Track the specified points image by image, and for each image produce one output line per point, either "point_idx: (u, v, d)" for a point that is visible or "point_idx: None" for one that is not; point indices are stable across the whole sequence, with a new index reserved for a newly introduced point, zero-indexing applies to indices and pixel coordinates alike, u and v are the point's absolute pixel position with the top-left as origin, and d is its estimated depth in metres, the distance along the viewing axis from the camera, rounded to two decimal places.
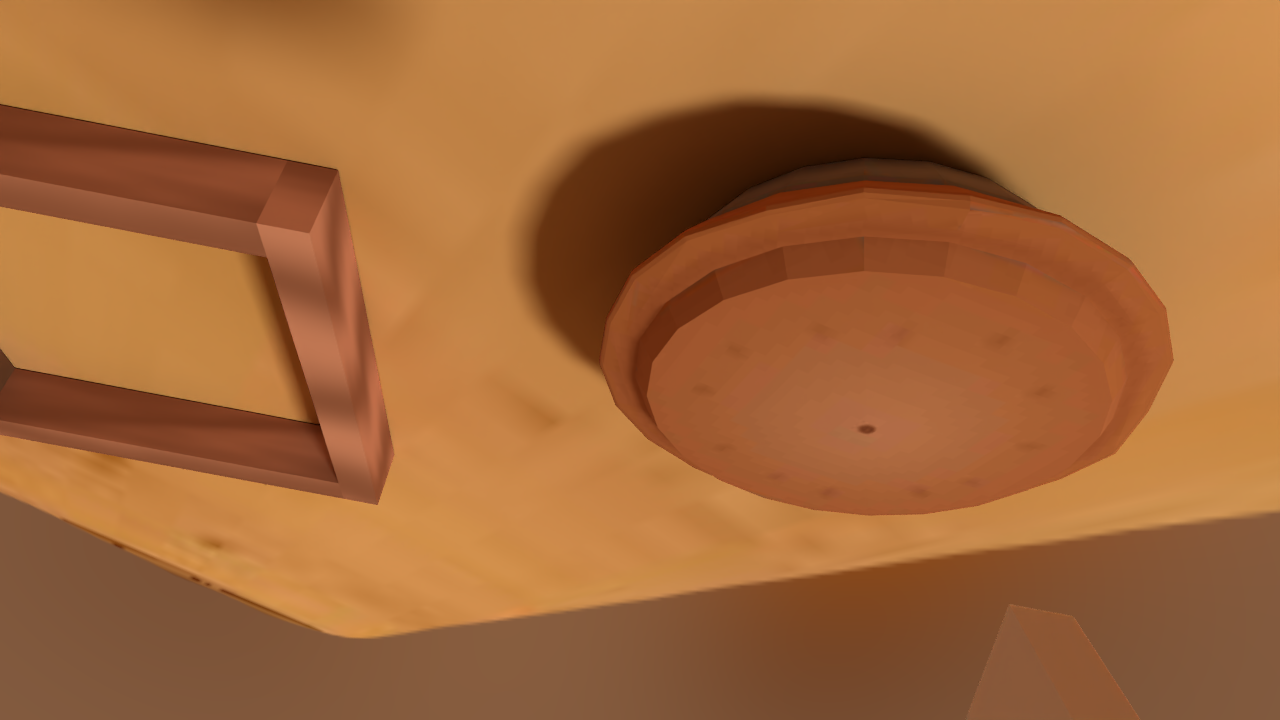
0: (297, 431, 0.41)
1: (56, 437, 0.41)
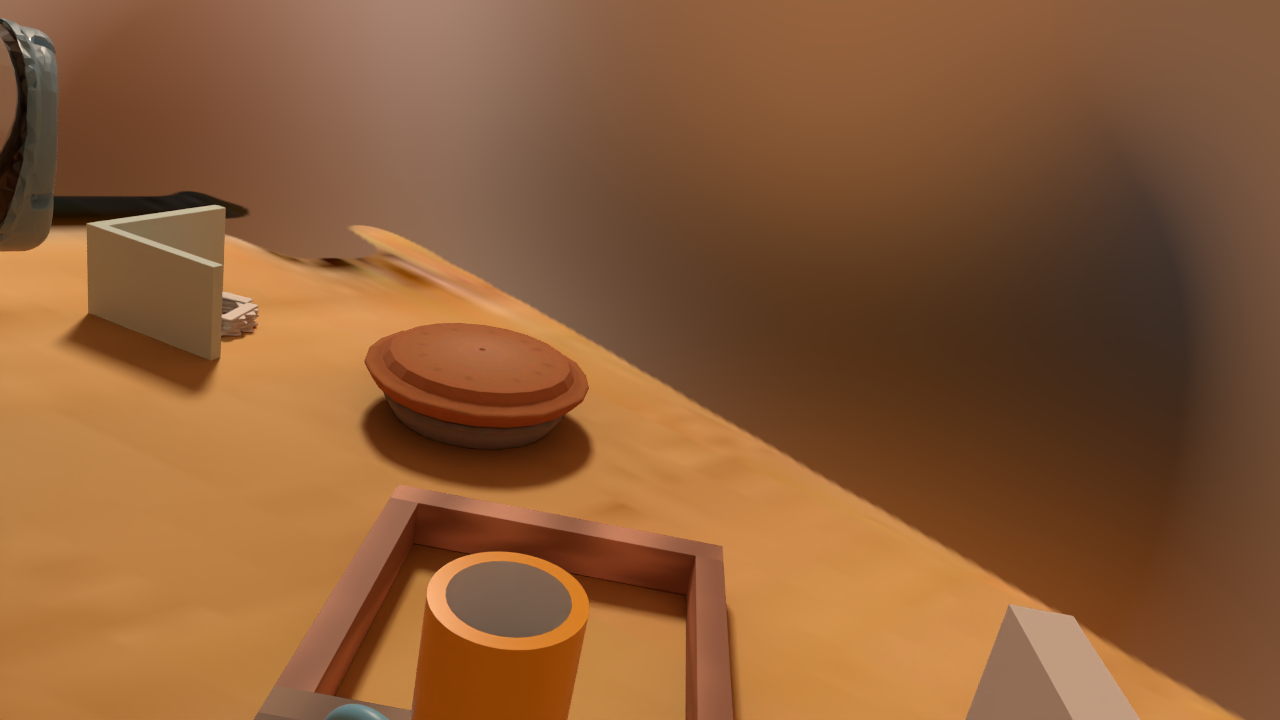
0: (688, 614, 0.49)
1: (713, 717, 0.39)
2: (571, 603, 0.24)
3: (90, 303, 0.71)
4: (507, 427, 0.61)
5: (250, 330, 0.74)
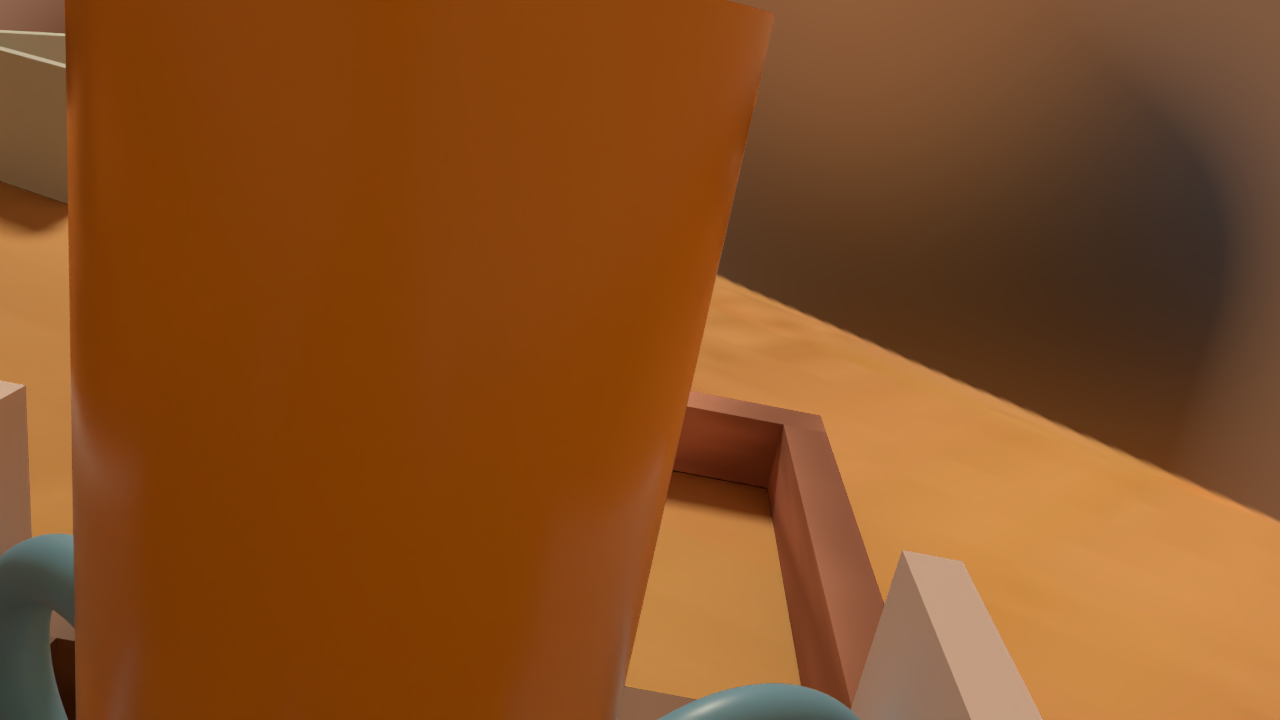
0: (776, 510, 0.31)
1: (865, 648, 0.21)
2: None
3: None
4: None
5: None
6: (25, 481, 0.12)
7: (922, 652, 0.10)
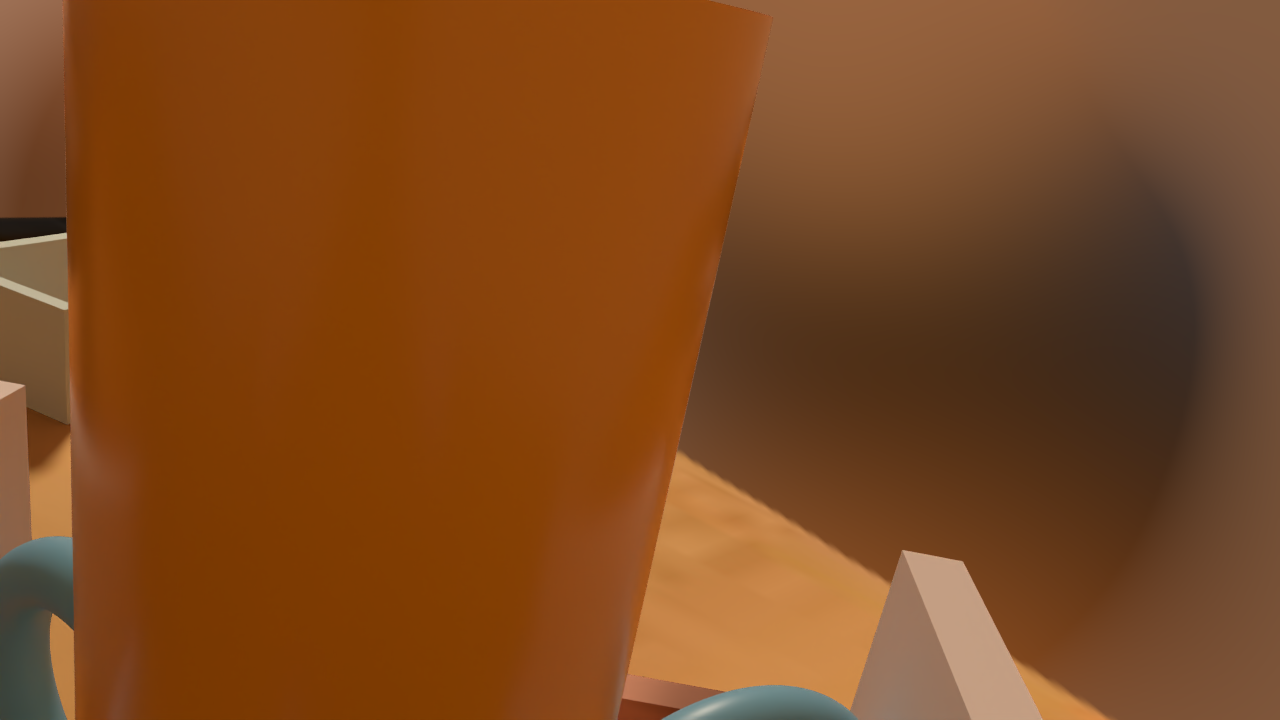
0: None
1: None
2: None
3: None
4: None
5: None
6: (24, 481, 0.12)
7: (922, 652, 0.10)
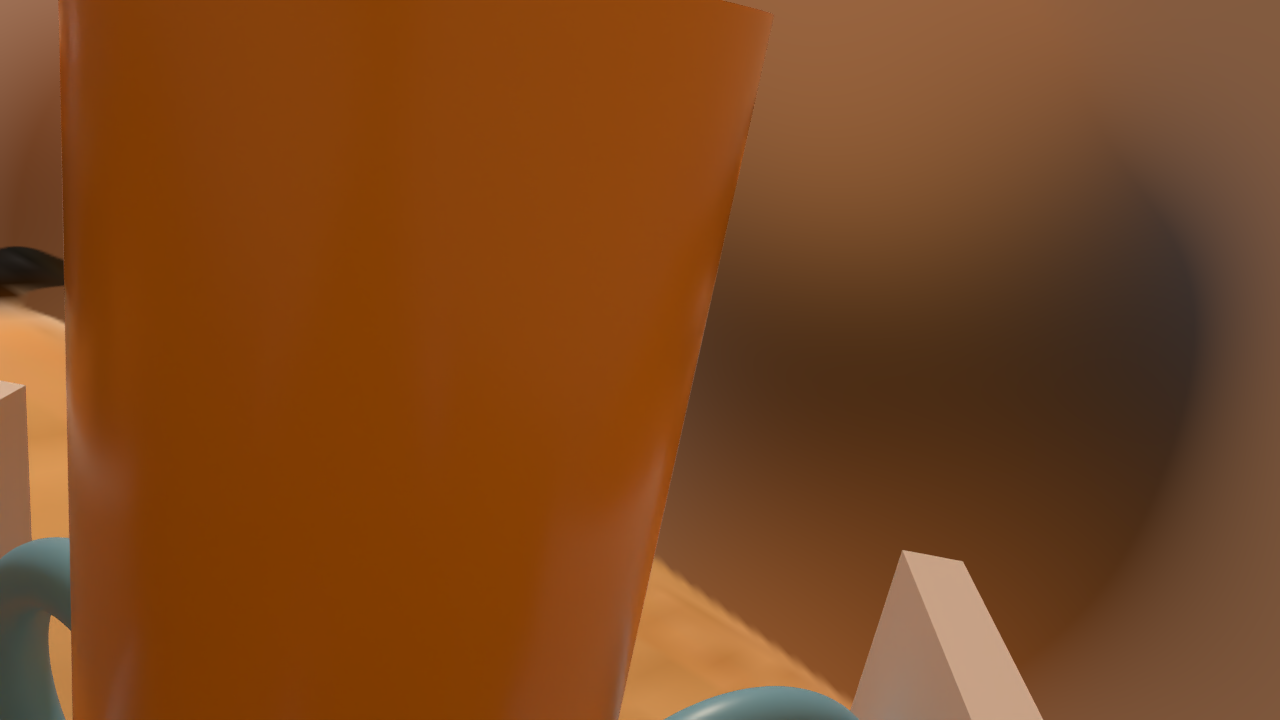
0: None
1: None
2: None
3: None
4: None
5: None
6: (24, 481, 0.12)
7: (922, 652, 0.10)
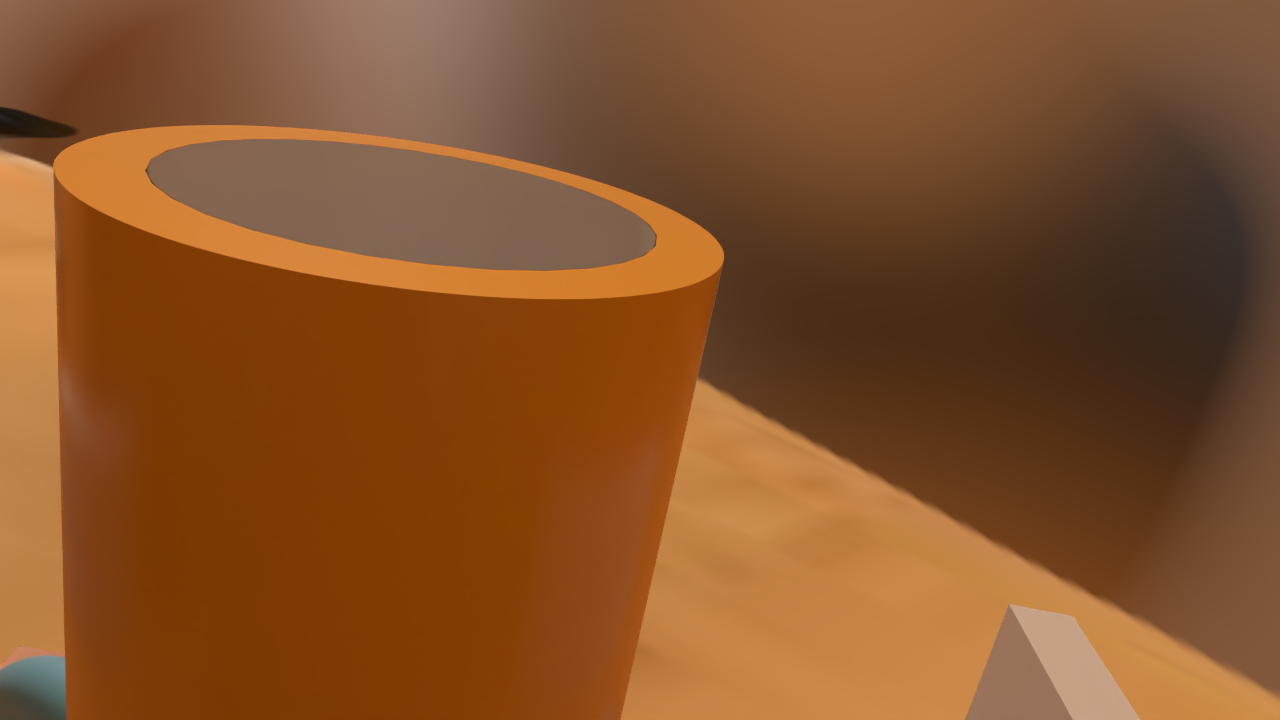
0: None
1: None
2: (652, 236, 0.06)
3: None
4: None
5: None
6: None
7: None
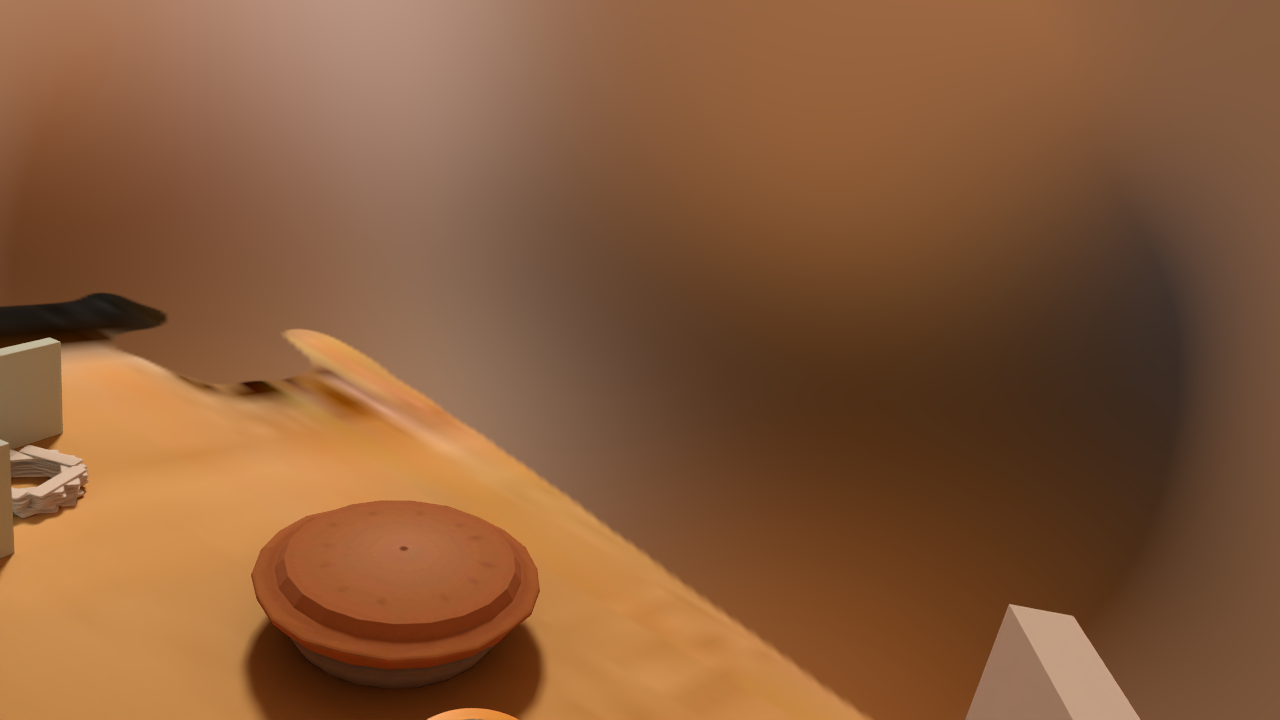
0: None
1: None
2: None
3: None
4: (432, 666, 0.48)
5: (72, 504, 0.60)
6: None
7: None
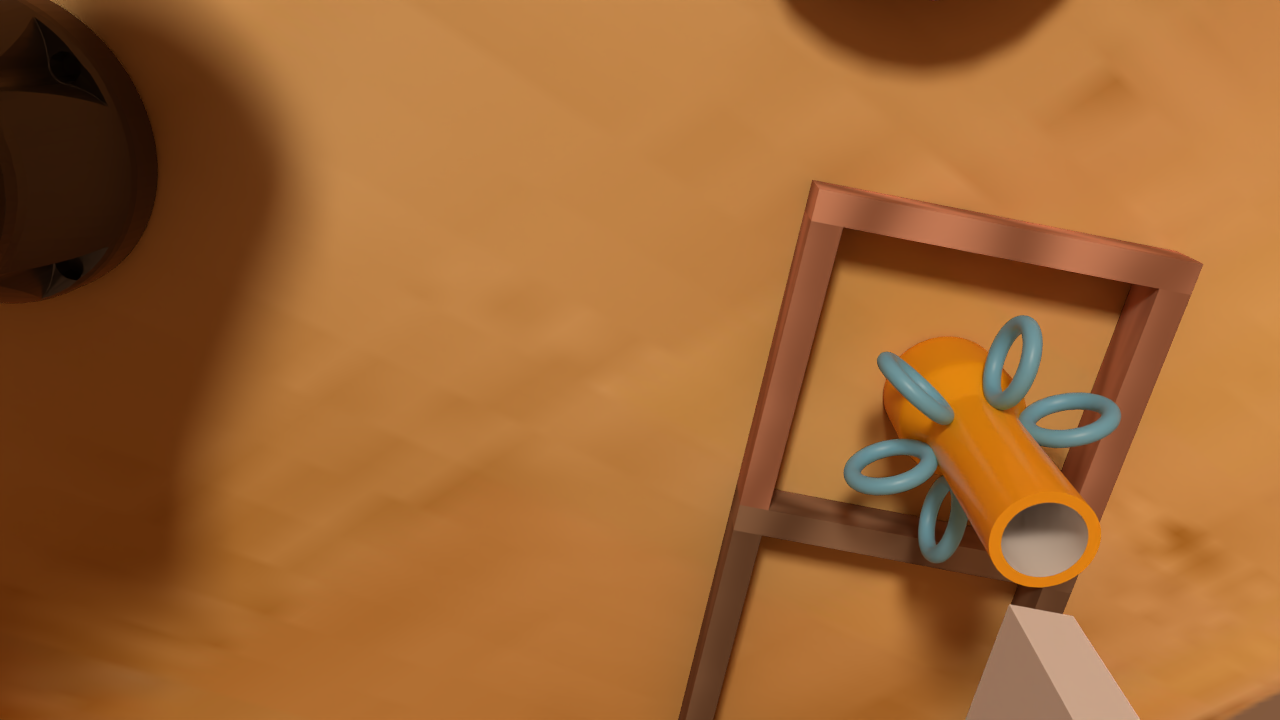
0: (1121, 325, 0.47)
1: None
2: (1087, 540, 0.35)
3: None
4: None
5: None
6: None
7: None
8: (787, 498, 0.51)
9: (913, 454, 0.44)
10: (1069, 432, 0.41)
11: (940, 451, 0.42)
